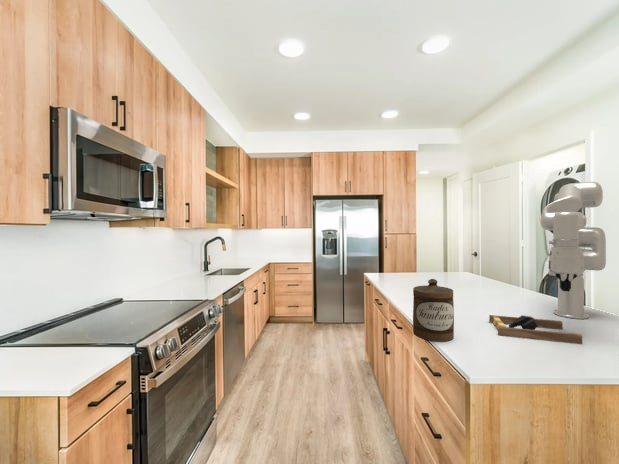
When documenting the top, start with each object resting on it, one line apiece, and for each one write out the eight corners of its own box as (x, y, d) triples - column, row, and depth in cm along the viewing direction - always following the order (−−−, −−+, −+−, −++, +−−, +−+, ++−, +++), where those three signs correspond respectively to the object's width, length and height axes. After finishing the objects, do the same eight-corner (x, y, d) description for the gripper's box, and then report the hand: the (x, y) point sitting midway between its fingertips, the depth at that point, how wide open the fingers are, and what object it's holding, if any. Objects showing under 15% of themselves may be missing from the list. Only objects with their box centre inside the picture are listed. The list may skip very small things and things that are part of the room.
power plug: (499, 327, 126) (525, 310, 125) (510, 342, 126) (536, 326, 125) (506, 331, 121) (533, 314, 120) (518, 347, 120) (545, 330, 119)
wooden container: (417, 341, 114) (417, 282, 113) (409, 328, 128) (409, 275, 128) (459, 343, 112) (459, 282, 111) (447, 329, 126) (447, 276, 126)
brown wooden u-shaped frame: (489, 321, 136) (489, 314, 136) (560, 328, 127) (560, 320, 127) (498, 335, 119) (498, 327, 119) (582, 344, 110) (582, 335, 110)
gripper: (546, 244, 118) (545, 291, 118) (595, 244, 113) (594, 294, 113) (539, 243, 125) (538, 287, 125) (584, 243, 120) (584, 290, 120)
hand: (565, 290), depth 119 cm, fingers closed
